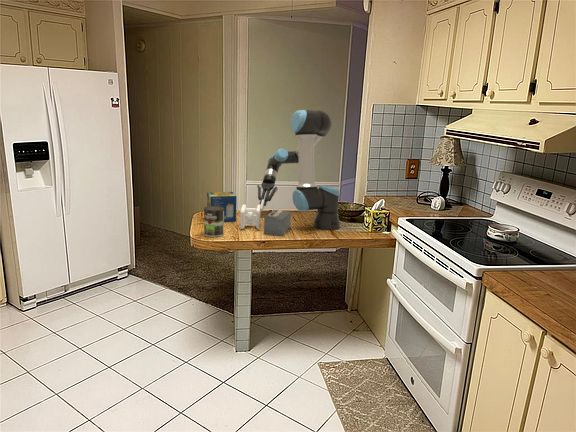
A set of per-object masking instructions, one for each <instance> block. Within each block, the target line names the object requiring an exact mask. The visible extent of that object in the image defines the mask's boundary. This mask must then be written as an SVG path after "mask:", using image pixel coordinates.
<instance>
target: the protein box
mask: <svg viewBox="0 0 576 432" xmlns="http://www.w3.org/2000/svg"><path fill="white" fill-rule="evenodd" d="M237 201H238V200H237V195H236V194H235V193H234V192H233V191H219V192H206V206H221V207H224V223H232V222H233V223H235V222H236V223H237Z"/></svg>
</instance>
